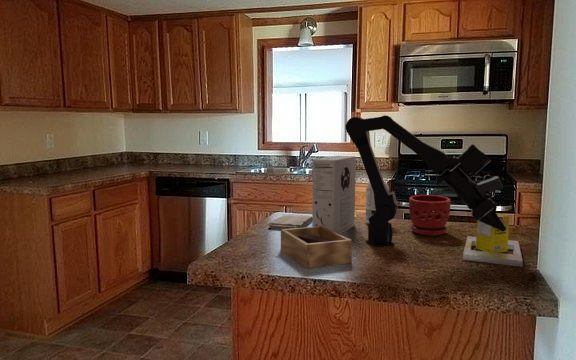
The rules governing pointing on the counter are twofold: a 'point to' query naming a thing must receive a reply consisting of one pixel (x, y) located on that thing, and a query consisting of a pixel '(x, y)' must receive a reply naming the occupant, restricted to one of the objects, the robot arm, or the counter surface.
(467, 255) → the plate
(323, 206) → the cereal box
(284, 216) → the washcloth
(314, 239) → the brick
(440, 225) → the plant pot
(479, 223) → the supplement box
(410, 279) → the counter surface
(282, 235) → the oak box
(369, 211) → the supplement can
